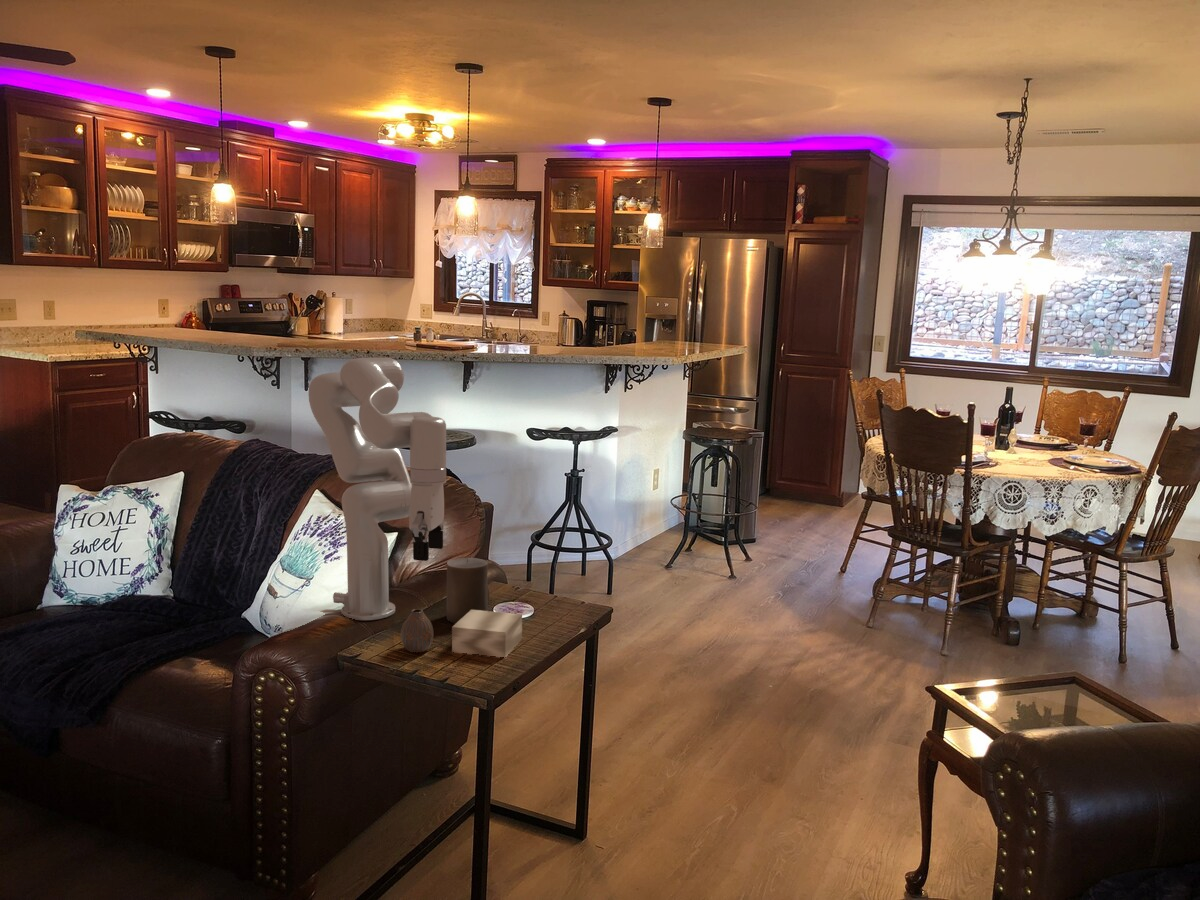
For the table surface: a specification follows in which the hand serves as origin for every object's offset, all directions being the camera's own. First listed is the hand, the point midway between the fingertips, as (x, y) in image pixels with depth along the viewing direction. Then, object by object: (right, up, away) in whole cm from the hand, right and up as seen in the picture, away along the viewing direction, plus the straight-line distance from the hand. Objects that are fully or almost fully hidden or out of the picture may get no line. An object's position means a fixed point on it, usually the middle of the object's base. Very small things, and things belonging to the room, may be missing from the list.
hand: (428, 554), depth 204 cm
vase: (-3, -21, +2) cm, 21 cm away
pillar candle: (+5, -18, +23) cm, 30 cm away
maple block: (+12, -21, +6) cm, 25 cm away
